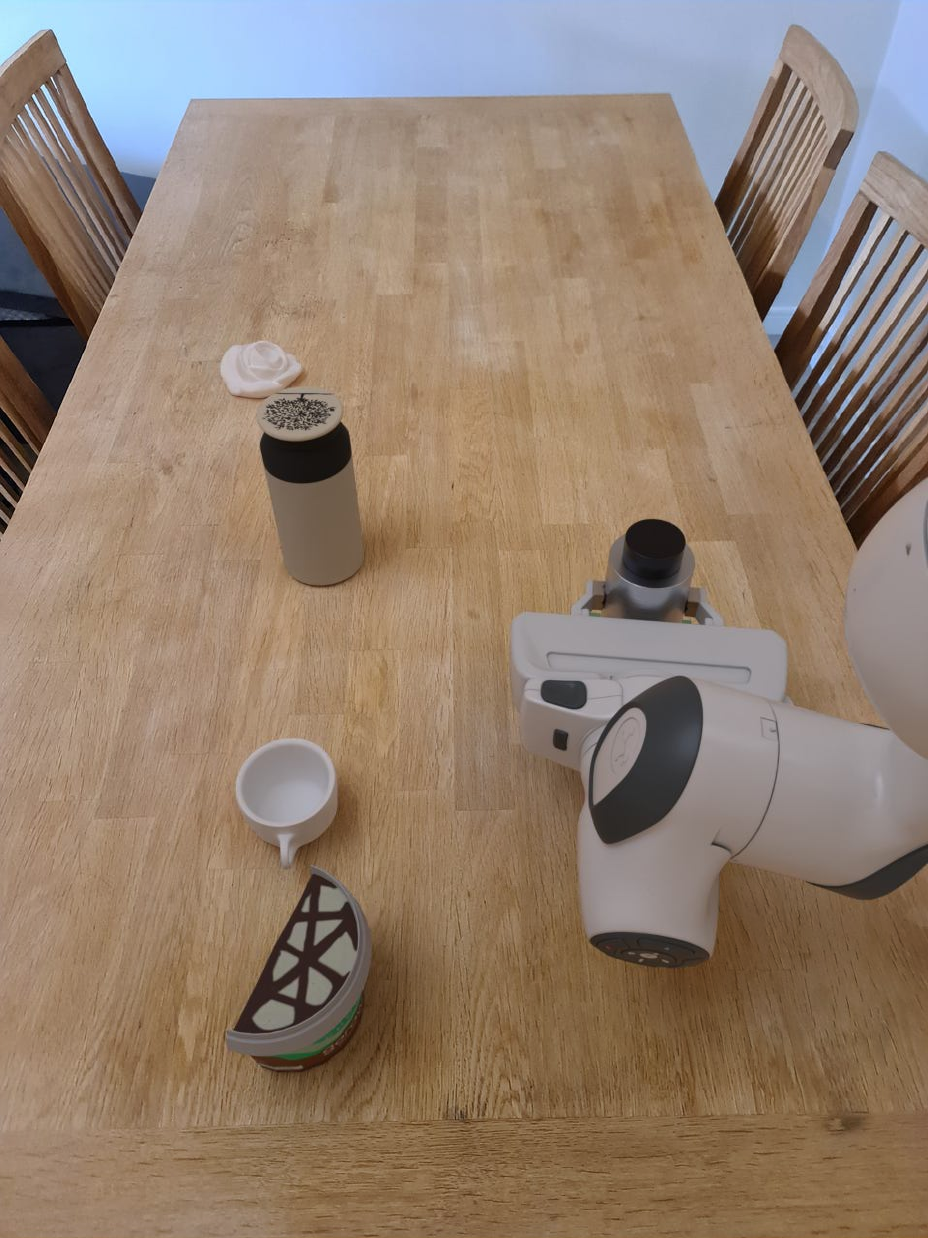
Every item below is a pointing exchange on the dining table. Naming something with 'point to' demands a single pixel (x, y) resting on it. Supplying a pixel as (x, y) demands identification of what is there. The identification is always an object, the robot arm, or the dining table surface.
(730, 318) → the dining table surface
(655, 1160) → the dining table surface
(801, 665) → the dining table surface
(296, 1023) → the food container
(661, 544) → the flask
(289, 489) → the travel mug
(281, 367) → the rose
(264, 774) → the teacup
